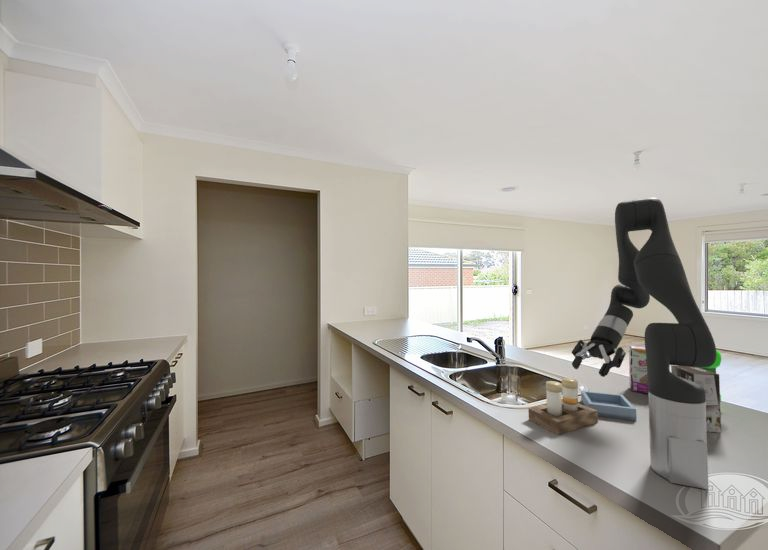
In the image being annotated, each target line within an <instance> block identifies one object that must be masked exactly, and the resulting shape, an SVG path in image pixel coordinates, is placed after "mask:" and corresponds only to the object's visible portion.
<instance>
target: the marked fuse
mask: <svg viewBox="0 0 768 550" xmlns="http://www.w3.org/2000/svg"><path fill="white" fill-rule="evenodd" d="M561 384H562V400H563V409H565V410H568V411H570V412H572V413H574V412H577V411H578V403H579V397H578V396H579V394H578V393H579V392H578V389H579V381H578V380H577V379H576V378H572V377H562V378H561Z"/></svg>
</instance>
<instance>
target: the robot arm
mask: <svg viewBox="0 0 768 550" xmlns="http://www.w3.org/2000/svg"><path fill="white" fill-rule="evenodd" d="M614 211H615V212H614V226H615V238H616V245H617V246H616V249H617V253H618V273H617V275H618V276H617V278H618V282H619V283H620V284H617V285H615V286H613V288H612V289H611V293H610V301H609V305H608V308H607V310H606V312H605V314H604V315H603V317H602V318H601V319H600V320H599V322H598V324H597V326H596V327H595V329H594V331H593V332H592V334H591V336H590V341H588V342H585V341H583V340H582V339H580V340H579V341H578V342H577V343H576V345H575V346H574V347H573V349H572V350H571V354H572V355H573V357H574V359H573V360H572V363H571V365H572V367H573V368H574V369H575V370H578V369H579V368H580V366H581V364H582V362H583V360H585V359H590V358H598V359H600V360H604V362H603V363H602V365H601V367H600V369H599V370H598V374H599V375H600V377H604V378H605V376H608V375H609V372H610V370H611V369H612V368H617V369H619V368H621V366H622V364H623V361H624V359H625V357H626V354H627V353H626V352H625V350H624V348H623V347H621V346H620V347H619V345H620V343H621V342H622V339H623V337H624V336H625V335H626V334H625V333H626V331H627V328H628V327H629V325H630V322H631V321H632V319H633V317H634V311H632V309H631V308H634V309H644V308H645V307H647V306H648V305H649V303H650V301H651V297H652V298H653V299H654V300H656V301H657V302H658V303H660V304H661V305H662V306H664V307H665V308H666V309H667V310H668V311H669V312H671V314H672V315H673V316H674V318H675V320H676V321H677V322H675V323H674V322H649V324H648V325H647V326H646V327H645V330H644V347H645V350H646V360H647V376H648V391H649V393H648V421H649V422H648V423H649V425H648V427H649V455H650V457H649V458H650V460H649V461H650V468H651V469H652V471H654V472H655V473H656V474H658V475H659V476H662V477H663V478H665V479H666V480H668V482H669V483H671V484H677V485H680V486H681V485H682V486H687V487H692V488H697V489H698V488H700V489H704V490H709V467H708V466H709V465H708V463H709V462H708V461H709V459H708V439H707V438H708V437H707V436H708V434H707V433H708V432H707V429H706V394H705V390H704V388H703V387H702V386H700V385H699V384H697V383H695V382H692V381H689V380H687V379H684V378H681V377H678V376H676V375H674V374H673V373H671V369H670V370H669V365H670V366H689V367H710V366H712V365H713V364H714V363H715V361H716V356H717V353H716V350H717V347H716V343H715V339H714V337H713V334H712V331H711V330H710V328H709V326H708V324H707V322H706V320H705V317H703V315H702V313H701V310H700V308H699V307H698V305H697V303H696V300H695V296H694V295H693V292H692V290H691V287H690V284H689V281H688V278H687V274H686V272H685V268H684V266H683V263H682V260H681V257H680V255H679V253H678V251H677V247H676V246H675V243H674V240H673V238H672V234H671V232H670V226H669V222H668V219H667V213H666V211H665V207H664V204H663V201H662V200H661V199H660V198H658V197H645V198H640V199H632V200H626V201H625V200H624V201H621V202H619V203H618V204H617V205H616V207H615V210H614ZM647 230H648V231H649V230H650V231H651V234H650V236H649V237H648V240H646V242H645V243H644V244H643V246H642V247H641V248H640V249H638V248H637V247H636V246H635V245H634V243H633V241H632V240H631V239H630V236H629V232H637V231H647ZM650 296H651V297H650ZM629 307H630V308H629ZM587 352H588V353H587ZM613 354H614V356H613V359H611V355H613Z"/></svg>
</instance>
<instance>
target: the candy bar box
mask: <svg viewBox="0 0 768 550" xmlns="http://www.w3.org/2000/svg"><path fill="white" fill-rule="evenodd" d="M628 350H629V351H628V354H629V355H628V359H629V360H628V361H629V362H628V363H629V368H628V369H629V372H628V374H629V375H628V376H629V388H630V391H631V392H638V393H641V394H642V393H644V394H649V391H648V376H647V360H646V350H645V346H635V345H629V346H628ZM670 367H671V365H669V370H670V371H671V368H670Z"/></svg>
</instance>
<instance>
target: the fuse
mask: <svg viewBox="0 0 768 550" xmlns="http://www.w3.org/2000/svg"><path fill="white" fill-rule="evenodd" d="M545 390H546V391H545V392H546V404H547V413H548V414H550V415H552V416H555V417H559V416H562V400H563V390H562V382H559V381H556V380H555V381H554V380H547V381H546V382H545Z"/></svg>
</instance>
